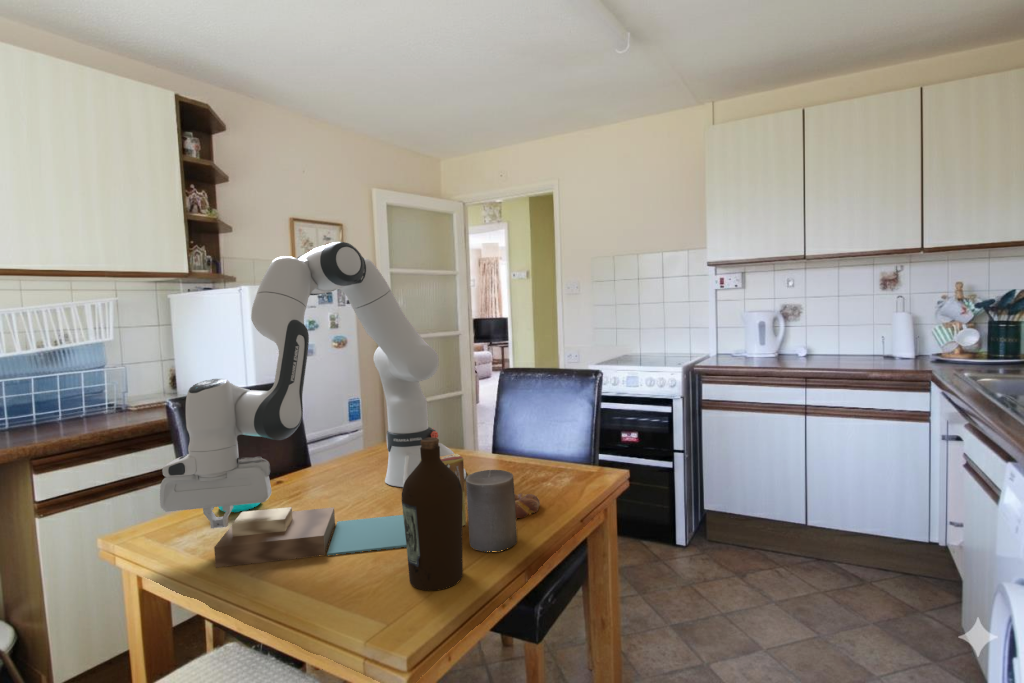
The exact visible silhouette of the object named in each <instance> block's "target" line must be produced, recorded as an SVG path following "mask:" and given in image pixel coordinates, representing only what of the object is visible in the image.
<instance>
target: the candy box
mask: <svg viewBox="0 0 1024 683" xmlns="http://www.w3.org/2000/svg"><path fill="white" fill-rule="evenodd" d="M440 460H441V461H442V462H443V463H444V464H445V465H446V466H447V467H448V468H449V469H451V470H452V471H453V472H454V473H455V474H456V476H457V477H458V479H459V481H460V484H461V487H462V492H463V505H462V527H463V526H464V525H465V526H467V523H466V522H467V521H466V519H467V517H466V492H465V488H466V486H465V479H464V469H465V468H464V466H465V465H464V457H463V456H462V455H460V454H459V453H454V454H452V455H446V456H440ZM420 462H421V459H420ZM465 526H464V527H465Z"/></svg>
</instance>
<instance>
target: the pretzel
mask: <svg viewBox="0 0 1024 683" xmlns="http://www.w3.org/2000/svg"><path fill="white" fill-rule="evenodd" d="M514 494H515V511H516V518H521V519H523V518H522V517H524V518H526V517H527V516H529V515H528V514H531V513H532V514H536V513H537V512H538V511H539V508H540V504H541V503H540V499H539V497H538V496H537V495H535V494H532V493H528V494H525V493H517V494H516V493H514ZM535 512H536V513H535ZM532 514H531V515H532ZM526 515H527V516H526ZM525 516H526V517H525Z"/></svg>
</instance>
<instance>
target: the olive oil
mask: <svg viewBox="0 0 1024 683" xmlns="http://www.w3.org/2000/svg"><path fill="white" fill-rule="evenodd" d="M439 440H440V439H439V437H438V438H433V437H431V438H424V439H422V440H421V448H420V452H421V462H420V463H419V464H418V466H417V467H416V468H415V469H414V470H413V472H412V473H411V474H410V475H409V476H408V478H407V479H406V481H405V483H404V486H403V487H402V490H401V508H402V515H403V517H404V526H405V536H406V546H407V547H406V555H407V564H408V567H407V568H408V577H409V579H408V580H409V583H410V584H411V585H412V587H414V588H415V587H416V589H418V590H421V589H422V591H428V590H434V591H439V590H438V589H442V590H444V589H443V588H446V587H449V586H451V587H453V586H455V585H457V584H458V583H459V582H460V581H461V580H462V579H463V575H464V573H463V571H464V569H463V567H464V566H463V565H464V564H463V563H464V562H463V526H462V505H463V492H462V487H461V484H460V481H459V479H458V477H457V476H456V474H455V473H454V472H453V471H452V470H451V469H449V468H448V467H447V466H446V465H445V464H444V463H443V462H442V461H441V460H440V446H439V444H438V443H439V442H440V441H439ZM461 578H462V579H461ZM459 580H460V581H459ZM458 581H459V582H458ZM457 582H458V583H457ZM456 583H457V584H456ZM454 584H455V585H454ZM452 585H453V586H452ZM449 588H450V587H449ZM446 589H447V588H446Z"/></svg>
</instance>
